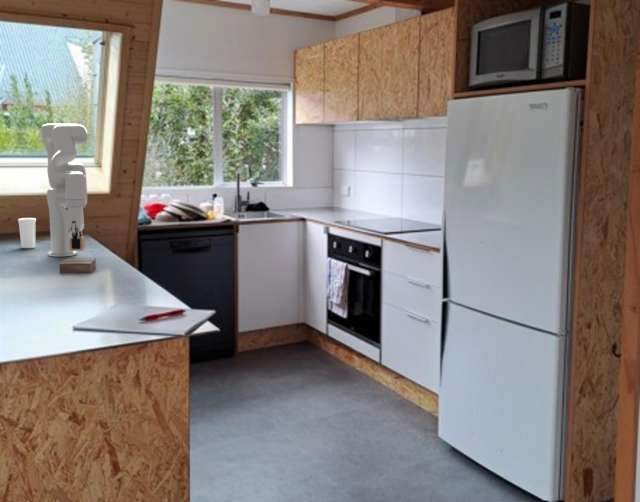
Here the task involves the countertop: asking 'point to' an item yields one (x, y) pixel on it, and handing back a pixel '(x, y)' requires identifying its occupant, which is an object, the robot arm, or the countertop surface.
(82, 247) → the terracotta cube
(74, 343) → the countertop surface
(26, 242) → the cup
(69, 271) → the walnut base
